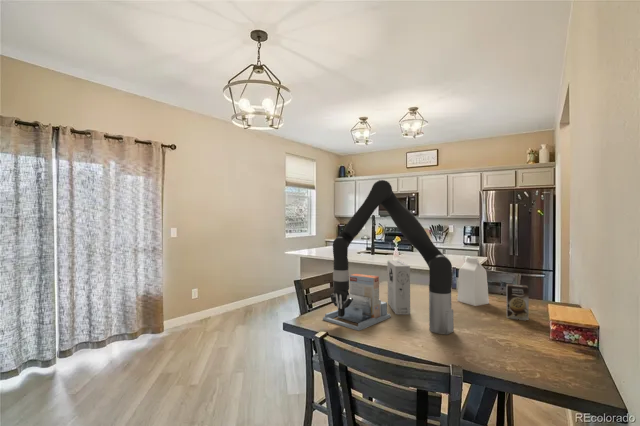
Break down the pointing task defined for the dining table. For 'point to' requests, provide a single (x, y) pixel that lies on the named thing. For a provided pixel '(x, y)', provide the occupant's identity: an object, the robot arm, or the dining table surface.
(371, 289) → the cracker box
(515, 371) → the dining table surface
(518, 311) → the coffee box
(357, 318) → the sliding jaw
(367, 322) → the vise body
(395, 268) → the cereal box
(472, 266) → the milk
